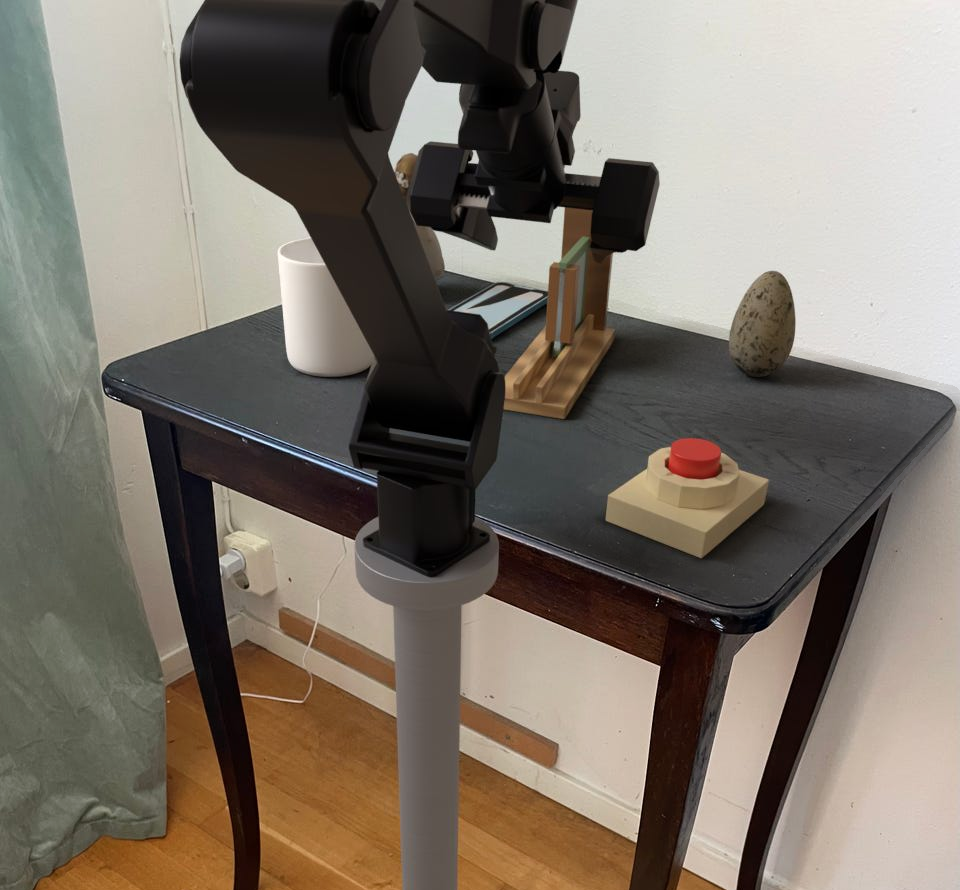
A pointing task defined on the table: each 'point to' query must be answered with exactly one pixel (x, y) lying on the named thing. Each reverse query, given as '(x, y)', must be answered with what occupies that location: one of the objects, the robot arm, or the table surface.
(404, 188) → the figurine
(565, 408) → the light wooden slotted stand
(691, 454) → the button
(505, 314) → the smartphone
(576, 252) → the sash
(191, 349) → the table surface
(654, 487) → the control block
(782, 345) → the decorative egg
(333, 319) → the mug
